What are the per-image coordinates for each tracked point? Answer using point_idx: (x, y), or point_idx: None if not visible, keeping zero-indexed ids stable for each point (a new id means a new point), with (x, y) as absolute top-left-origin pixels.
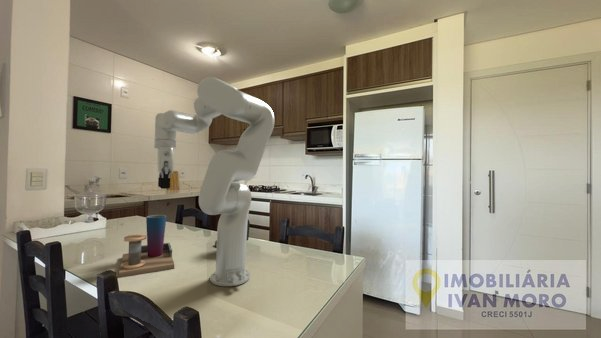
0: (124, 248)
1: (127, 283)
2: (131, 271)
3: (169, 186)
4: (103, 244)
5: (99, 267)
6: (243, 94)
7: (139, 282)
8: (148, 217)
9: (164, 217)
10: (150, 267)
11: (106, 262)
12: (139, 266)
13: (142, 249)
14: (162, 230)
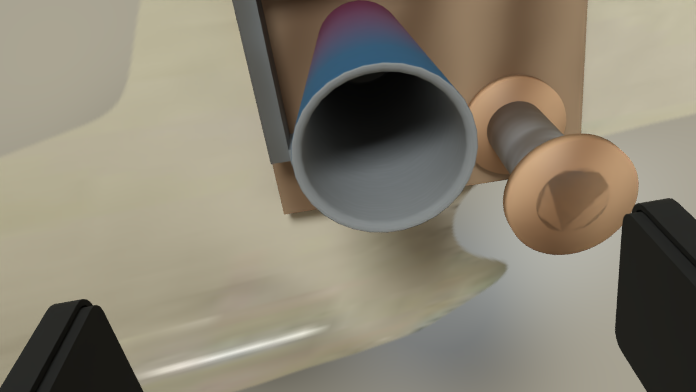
0: (102, 232)
1: (663, 109)
2: (579, 120)
3: (690, 224)
4: (9, 341)
5: (401, 259)
6: None
7: (682, 62)
8: (355, 214)
9: (436, 73)
10: (580, 40)
11: (337, 251)
12: (557, 96)
13: (287, 132)
14: (420, 48)
